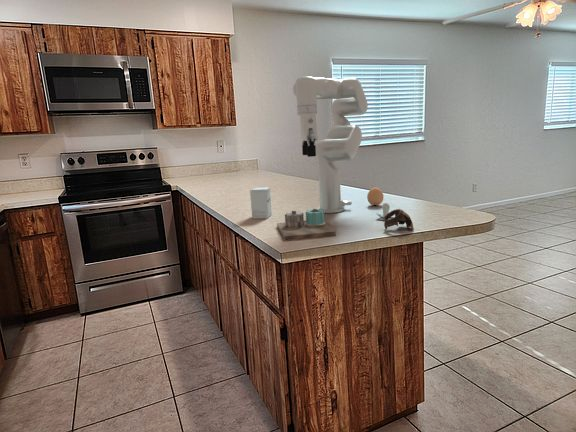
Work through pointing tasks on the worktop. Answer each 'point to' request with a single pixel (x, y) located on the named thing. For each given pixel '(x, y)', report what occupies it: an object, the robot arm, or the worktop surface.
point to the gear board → (302, 227)
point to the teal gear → (315, 217)
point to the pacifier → (385, 211)
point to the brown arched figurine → (398, 219)
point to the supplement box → (260, 202)
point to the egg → (375, 196)
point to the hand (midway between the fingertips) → (309, 155)
